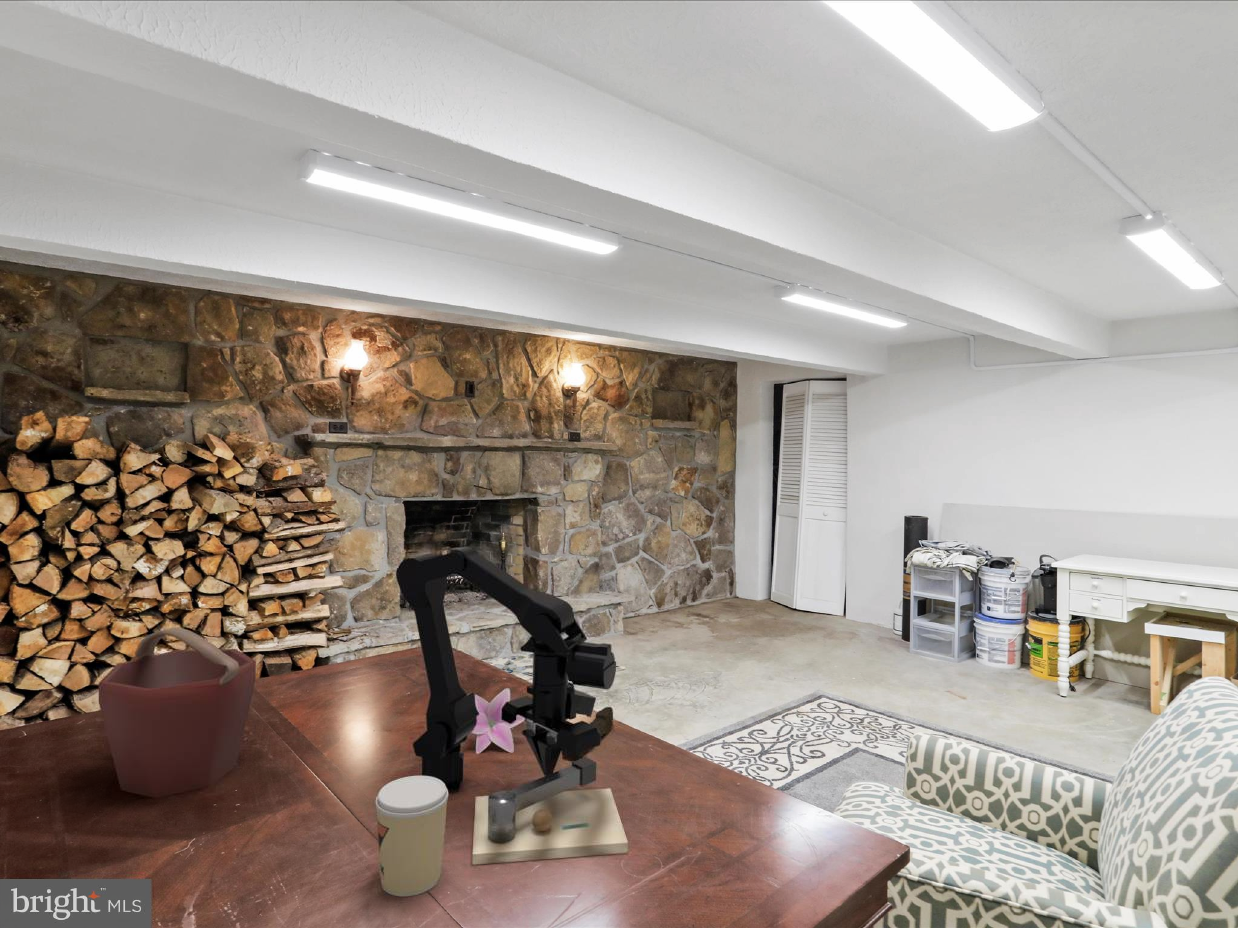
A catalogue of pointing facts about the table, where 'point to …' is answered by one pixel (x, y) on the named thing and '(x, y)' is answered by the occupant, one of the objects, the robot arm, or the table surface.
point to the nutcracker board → (554, 829)
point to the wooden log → (601, 722)
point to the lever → (533, 797)
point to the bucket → (176, 714)
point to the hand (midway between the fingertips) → (548, 775)
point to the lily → (494, 723)
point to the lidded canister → (411, 834)
